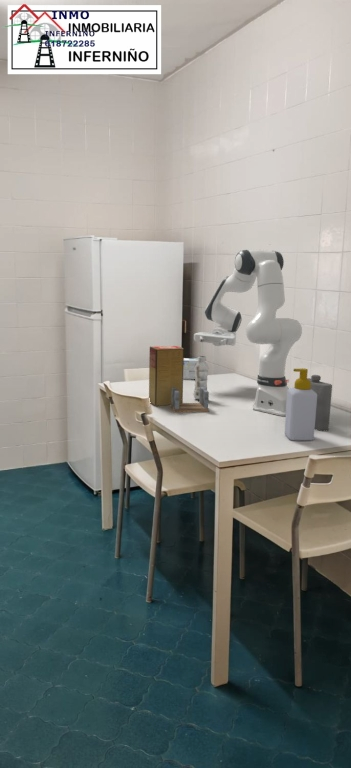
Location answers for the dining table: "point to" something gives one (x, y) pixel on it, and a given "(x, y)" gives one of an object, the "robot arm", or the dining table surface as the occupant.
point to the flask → (321, 402)
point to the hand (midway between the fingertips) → (210, 341)
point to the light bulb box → (189, 368)
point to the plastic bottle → (200, 376)
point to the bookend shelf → (190, 407)
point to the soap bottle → (301, 409)
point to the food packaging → (165, 374)
